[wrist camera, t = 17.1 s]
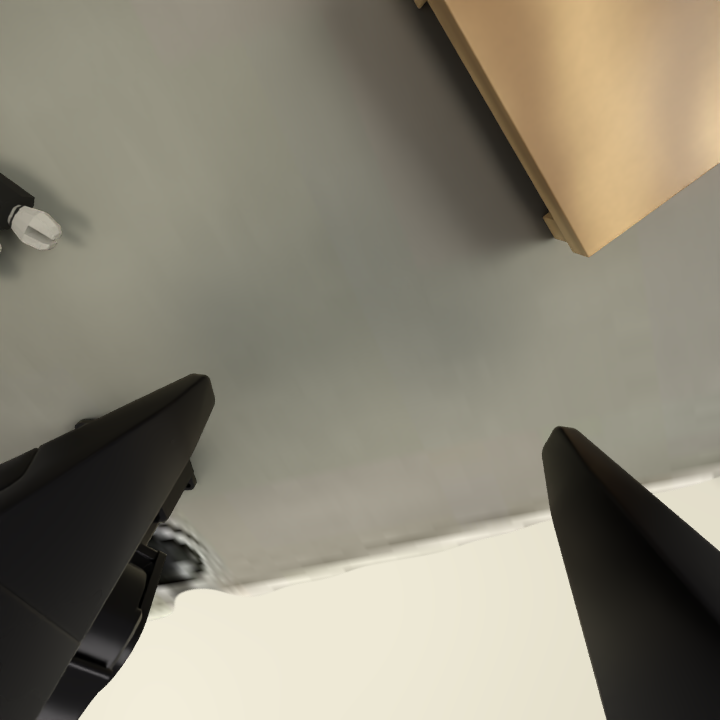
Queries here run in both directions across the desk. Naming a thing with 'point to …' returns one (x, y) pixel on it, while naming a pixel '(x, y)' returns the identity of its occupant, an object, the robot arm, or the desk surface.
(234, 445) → the desk surface
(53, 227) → the robot toy
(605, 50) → the shelf
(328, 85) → the desk surface
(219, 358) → the desk surface
